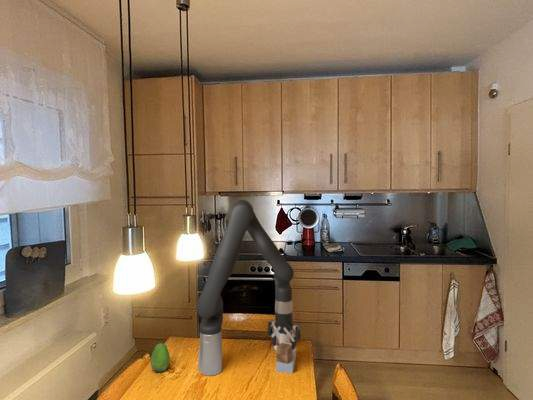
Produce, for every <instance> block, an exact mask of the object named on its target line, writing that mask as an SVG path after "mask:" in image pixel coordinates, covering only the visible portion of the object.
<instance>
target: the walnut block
mask: <svg viewBox="0 0 533 400" xmlns="http://www.w3.org/2000/svg"><path fill="white" fill-rule="evenodd" d="M291 359H292V349H291V345H290V344H285V343H281V344H280V345H279V346H278V347H277V351H276V362H277V361H278V362H282V363H286V364H288V363H289V362H290V361H291Z"/></svg>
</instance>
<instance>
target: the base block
mask: <svg viewBox="0 0 533 400" xmlns="http://www.w3.org/2000/svg"><path fill="white" fill-rule="evenodd" d="M275 363H276V364H275V369H276V370H275V372H276V373H286V374H294V370H295V366H296V359H295V357H293V356H292V359H291V361H290V362H289V363H288V364H286V363H282V362H278V361H277V360H276V362H275Z"/></svg>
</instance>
